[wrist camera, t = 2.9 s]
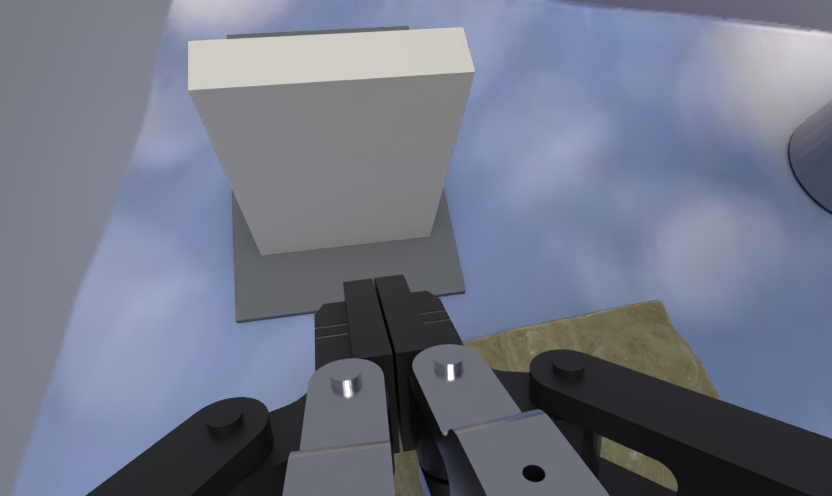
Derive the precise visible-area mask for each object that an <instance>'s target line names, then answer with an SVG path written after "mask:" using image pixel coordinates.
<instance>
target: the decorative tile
mask: <svg viewBox="0 0 832 496" xmlns="http://www.w3.org/2000/svg"><path fill="white" fill-rule="evenodd" d="M462 343H463V345H464V346H465V347H469V348H471V349H473V350H475V351H477V352H478V353H479V354H480V355H481V356H482V357H483V358H484V360H485V361H486V362H487V364H488V365H489V367H490V368H492V369H495V370H501V371H511V372H529V368H530V363H531V361H532V359H533V358H534V357H535V356H537V355H538V354H540V353H542V352H545V351H549V350H556V349H567V350H574V351H579V352H583V353H586V354H589V355H592V356H594V357H597V358H600V359H603V360H606V361H609V362H612V363H615V364H617V365H620V366H623V367H626V368H629V369H632V370H635V371H638V372H640V373H643V374H646V375H649V376H652V377H655V378H658V379H661V380H664V381H666V382H669V383H672V384H675V385H678V386H681V387H684V388H687V389H689V390H692V391H695V392H698V393H701V394H704V395H707V396H710V397H712V398H715V399H718V400H720V398H719V396H718V394H717V392H716V391H715V389H714V387H713V386H712V383H711V381H710V379H709V377H708V375H707V373H706V371H705V369H704V366H703V364H702V363H701V362H700V361H699V359H698V358H697V357H696V355H695V354H694V352H693V351H692V349H691V348H690V346H689V345H688V344H687V342H686V341H685V340H684V339H683V338H682V337H681V336H680V335H679V334H678V333H677V332H676V331H675V329H674V327H673V325H672V323H671V321H670V319H669V317H668V315H667V313H666V311H665V307H664V304H663V302H661V301H659V300H655V301H649V302H643V303H638V304H633V305H628V306H624V307H619V308H614V309H610V310H605V311H600V312H596V313H591V314H587V315H583V316H578V317H573V318H567V319H561V320H556V321H551V322H547V323H542V324H538V325H532V326H527V327H522V328H517V329H513V330H509V331H505V332H501V333H497V334H493V335H489V336H485V337H481V338H477V339H473V340H469V341H464V342H462ZM399 444H400V453H396V454H394V460H395V474H394V477H393V478H394V488H395V496H425V495H424V492H423V490H422V487H421V484H420V480H419V464H418V456H417V452H416V450H412V451H406V452H403V448H402V444H401V439H400V435H399ZM600 457H602V458H605V459H607V460H609V461H611V462H613V463H615V464H617V465H619V466H622V467H624V468H626V469H628V470H630V471H632V472H634V473H637V474H639V475H641V476H643V477H645V478H647V479H649V480H651V481H654V482H656V483H658V484H660V485H662V486H664V487H666V488H669V489H671V490H673V491H677V490H678V485H677V481H676V479H675V477H674V475H673V474H672V472H671V471H670V470H669V469H668V468H667V467H666V466H665V465H663V464H662V463H660V462H658V461H657V460H654V459H652V458H650V457H648V456H645V455H643V454H641V453H639V452H636V451H634V450H632V449H630V448H627V447H625V446H623V445H621V444H618V443H616V442H614V441H611V440H609V439H607V438H605V437H602V445H601V455H600Z"/></svg>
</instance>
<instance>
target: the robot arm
mask: <svg viewBox="0 0 832 496" xmlns="http://www.w3.org/2000/svg"><path fill="white" fill-rule="evenodd" d="M789 154H790V159H791V164H792V167H793V169H794V171H795V174H796V176H797V177H798V179H799V180H800V182H801V184H802V185H803V187H804V188H805V189H806V190H807V191H808V192H809V193H810V195H811V196H812V197H813V198H814V199H815V200H816V201H818V202H819V203H820V204H821V205H823V206H824V207H825V208H826V209H828V210H829V211H831V212H832V100H831V101H830V102H829V103H827V104H826V105H825V106H824V107H823V108H821V109H820V110H819V111H818V112H816V113H815V114H814V115H813V116H812V117H810V118H809V119H808V120H807V121H805V122H804V123H803V124H802V125H800V126H799V127H798V128H797V130H796V131H795V132H794V134H793V136H792V138H791V141H790V150H789ZM343 288H344V298H345V301H342V302H334V303H327V304H323V305H322V306H321V308H320V309H319V310H318V312H317V313H316V314H315V373H314V374H313V375H312V376H311V378H310V380H309V384H308V391H307V393H306V394H305V395H304V396H303V397H301V398H300V399H298V400H297V401H295V402H293V403H291V404H289V405H287V406H285V407H282V408H280V409H277V410H274V411H272V412H269V413H268V410H267V407H266V406H265V405H264V404H263V403H262V402H260V401H258V400H256V399H252V398H246V397H236V398H229V399H224V400H221V401H218V402H215V403H212V404H210V405H208V406H206V407H204V408H202V409H201V410H199V411H198V412H196V413H195V414H194V415H192V416H191V417H190V418H188V419H187V420H186V421H184V422H183V423H182V424H180V425H179V426H178V427H176V428H175V429H174V430H172V431H171V432H170V433H168V434H167V435H166V436H164V437H163V438H162V439H160V440H159V441H158V442H156V443H155V444H154V445H152V446H151V447H150V448H148V449H147V450H146V451H144V452H143V453H142V454H141V455H139V456H138V457H137V458H135V459H134V460H133V461H131V462H130V463H129V464H127V465H126V466H125V467H123V468H122V469H121V470H119V471H118V472H117V473H115V474H114V475H113V476H111V477H110V478H109V479H107V480H106V481H105V482H103V483H102V484H101V485H99V486H98V487H97V488H95V489H94V490H93V491H91V492H90V493H89V494H87V495H86V496H395V488H394V478H393V477H394V474H395V460H394V454H396V453H400V444H399V435H400V439H401V444H402V448H403V452H406V451H412V450H416V452H417V456H418V464H419V480H420V484H421V487H422V490H423V492H424V495H425V496H832V439H831V438H828V437H825V436H822V435H819V434H816V433H813V432H810V431H808V430H805V429H802V428H799V427H796V426H793V425H790V424H787V423H784V422H782V421H779V420H776V419H773V418H770V417H767V416H764V415H761V414H759V413H756V412H753V411H750V410H747V409H744V408H741V407H738V406H736V405H733V404H730V403H727V402H724V401H721V400H718V399H715V398H712V397H710V396H707V395H704V394H701V393H698V392H695V391H692V390H689V389H687V388H684V387H681V386H678V385H675V384H672V383H669V382H666V381H664V380H661V379H658V378H655V377H652V376H649V375H646V374H643V373H640V372H638V371H635V370H632V369H629V368H626V367H623V366H620V365H617V364H615V363H612V362H609V361H606V360H603V359H600V358H597V357H594V356H592V355H589V354H586V353H583V352H579V351H574V350H567V349H556V350H549V351H545V352H542V353H540V354H538V355H537V356H535V357H534V358H533V359H532V361H531V363H530V368H529V372H511V371H501V370H495V369H492V368H490V367H489V365H488V364H487V362H486V361H485V360H484V358H483V357H482V356H481V355H480V354H479V353H478V352H477V351H475V350H473V349H471V348H469V347H465V346H464V345H463V343H462V341H461V339H460V337H459V335H458V333H457V331H456V329H455V327H454V325H453V323H452V321H451V320H450V318H449V316H448V314H447V312H446V311H445V308H444V306H443V304H442V302H441V300H440V299H439V298H438V297H436V296H435V295H433V294H431V293H430V292H428V291H427V290H426V291H419V292H411V291H410V289H409V287H408V284H407V282H406V279H405V277H404V275H403V274H401V275H393V276H385V277H377V278H374V283H373V280H372V278H369V279H361V280H353V281H345V282H343ZM602 437H605V438H607V439H609V440H611V441H614V442H616V443H618V444H621V445H623V446H625V447H627V448H630V449H632V450H634V451H636V452H639V453H641V454H643V455H645V456H648V457H650V458H652V459H654V460H657V461H658V462H660V463H662V464H663V465H665V466H666V467H667V468H668V469H669V470H670V471H671V472H672V474H673V475H674V477H675V479H676V481H677V485H678V490H677V491H673V490H671V489H669V488H666V487H664V486H662V485H660V484H658V483H656V482H654V481H651V480H649V479H647V478H645V477H643V476H641V475H639V474H637V473H634V472H632V471H630V470H628V469H626V468H624V467H622V466H619V465H617V464H615V463H613V462H611V461H609V460H607V459H605V458H602V457H600V455H601V445H602Z"/></svg>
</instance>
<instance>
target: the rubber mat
mask: <svg viewBox="0 0 832 496" xmlns="http://www.w3.org/2000/svg"><path fill="white" fill-rule="evenodd" d="M399 30H409V27H408V26H400V27H379V28H359V29H339V30H319V31H298V32H278V33H258V34H238V35H227V39H241V38H261V37H280V36H300V35H320V34H340V33H359V32H379V31H399ZM232 210H233V242H234V274H235V305H236V322H237V323H241V322H249V321H257V320H264V319H272V318H279V317H287V316H295V315H302V314H310V313H317V312H318V310H319V309H320V308H321V306H322V305H323V304H327V303H334V302H342V301H345V298H344V288H343V282H345V281H353V280H361V279H369V278H372V280H373V283H374V278H377V277H385V276H393V275H401V274H403V275H404V277H405V279H406V282H407V284H408V287H409V289H410V291H411V292H419V291H426V290H427V291H428V292H430V293H431V294H433V295H435V296H436V297H440V296H447V295H455V294H462V293H465V291H466V290H465V285H464V281H463V276H462V272H461V267H460V262H459V258H458V253H457V248H456V244H455V239H454V235H453V230H452V225H451V221H450V216H449V212H448V207H447V202H446V198H445V193H444V188H443V190H442V194H441V198H440V201H439V205H438V209H437V212H436V216H435V219H434V223H433V227H432V230H431V234H430V236H429V237H420V238H411V239H402V240H393V241H384V242H376V243H367V244H358V245H349V246H340V247H331V248H322V249H313V250H305V251H296V252H287V253H278V254H269V255H261V254H260V251H259V249H258V247H257V245H256V242H255V240H254V238H253V236H252V233H251V231H250V229H249V226H248V224H247V222H246V220H245V217H244V215H243V213H242V211H241V208H240V206H239V204H238V202H237V199H236V197H235V195H234V193H233V190H232Z"/></svg>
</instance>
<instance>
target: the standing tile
mask: <svg viewBox="0 0 832 496" xmlns="http://www.w3.org/2000/svg"><path fill="white" fill-rule="evenodd" d="M474 74H475V70H474V66H473V63H472V59H471V55H470V52H469V48H468V44H467V41H466V37H465V33H464V29H463V27H458V28H438V29H419V30H399V31H379V32H359V33H340V34H320V35H300V36H280V37H261V38H241V39H221V40H201V41H188V91H189V93H190V96H191V98H192V100H193V102H194V105H195V107H196V109H197V111H198V114H199V116H200V118H201V120H202V123H203V125H204V127H205V129H206V132H207V134H208V136H209V138H210V141H211V143H212V145H213V147H214V150H215V152H216V154H217V156H218V159H219V161H220V163H221V166H222V168H223V170H224V172H225V175H226V177H227V179H228V181H229V184H230V186H231V188H232V190H233V193H234V195H235V197H236V199H237V202H238V204H239V206H240V208H241V211H242V213H243V215H244V217H245V220H246V222H247V224H248V226H249V229H250V231H251V233H252V236H253V238H254V240H255V242H256V245H257V247H258V249H259V251H260V254H261V255H269V254H278V253H287V252H296V251H305V250H313V249H322V248H331V247H340V246H349V245H358V244H367V243H376V242H384V241H393V240H402V239H411V238H420V237H429V236H430V234H431V230H432V227H433V223H434V219H435V216H436V212H437V209H438V205H439V201H440V198H441V194H442V190H443V187H444V183H445V179H446V176H447V172H448V168H449V165H450V161H451V157H452V154H453V150H454V146H455V143H456V139H457V136H458V132H459V128H460V125H461V121H462V117H463V114H464V110H465V106H466V103H467V99H468V95H469V92H470V88H471V84H472V81H473V77H474Z"/></svg>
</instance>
